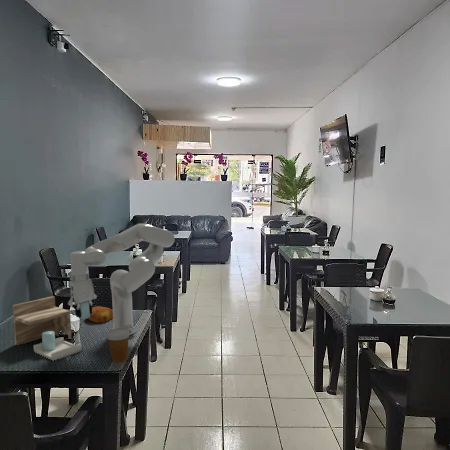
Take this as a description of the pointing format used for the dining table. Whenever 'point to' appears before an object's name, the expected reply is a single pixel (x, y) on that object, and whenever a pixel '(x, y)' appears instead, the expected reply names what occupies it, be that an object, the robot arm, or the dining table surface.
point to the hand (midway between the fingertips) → (84, 314)
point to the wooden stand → (39, 320)
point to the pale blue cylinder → (84, 310)
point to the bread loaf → (101, 314)
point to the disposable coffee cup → (118, 344)
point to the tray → (55, 347)
